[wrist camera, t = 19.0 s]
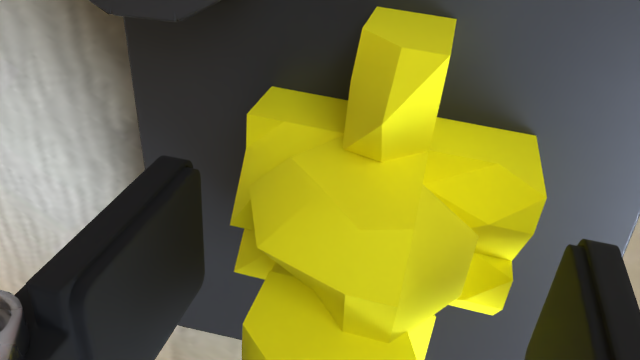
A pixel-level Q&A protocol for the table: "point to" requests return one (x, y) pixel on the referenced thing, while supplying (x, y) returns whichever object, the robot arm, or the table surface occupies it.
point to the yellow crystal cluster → (378, 205)
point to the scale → (456, 104)
